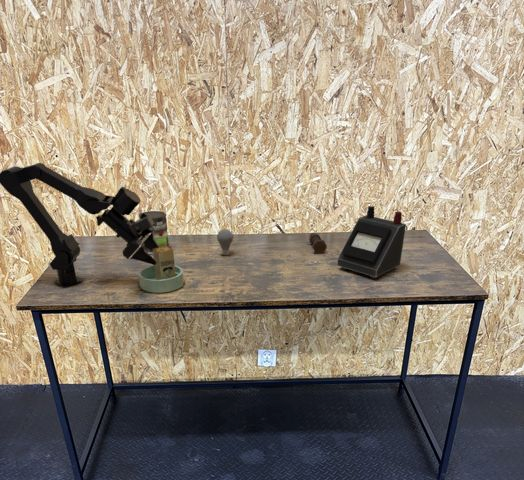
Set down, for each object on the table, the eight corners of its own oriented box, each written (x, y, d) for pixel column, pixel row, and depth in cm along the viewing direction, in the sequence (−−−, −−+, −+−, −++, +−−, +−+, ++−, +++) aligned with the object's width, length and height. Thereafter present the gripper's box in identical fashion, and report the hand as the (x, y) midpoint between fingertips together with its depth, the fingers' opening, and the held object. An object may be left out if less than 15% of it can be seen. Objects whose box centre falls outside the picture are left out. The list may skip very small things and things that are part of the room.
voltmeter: (336, 269, 178) (340, 213, 168) (361, 257, 188) (367, 204, 178) (374, 281, 168) (382, 223, 158) (399, 268, 179) (407, 213, 168)
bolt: (314, 245, 206) (321, 256, 193) (304, 239, 204) (310, 250, 191) (322, 233, 203) (329, 243, 190) (312, 227, 202) (318, 237, 189)
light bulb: (225, 251, 194) (224, 226, 189) (236, 254, 191) (236, 229, 186) (214, 255, 190) (213, 229, 185) (226, 258, 187) (225, 232, 182)
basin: (131, 285, 166) (129, 272, 163) (166, 273, 175) (164, 261, 172) (157, 297, 157) (156, 284, 155) (192, 284, 166) (191, 271, 164)
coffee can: (174, 250, 195) (171, 214, 188) (151, 256, 189) (147, 219, 182) (160, 244, 202) (157, 209, 194) (138, 249, 196) (133, 214, 188)
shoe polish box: (176, 284, 165) (173, 250, 159) (162, 288, 163) (158, 253, 156) (170, 280, 168) (166, 245, 162) (156, 283, 166) (152, 248, 160)
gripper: (127, 215, 145) (168, 252, 150) (143, 199, 161) (180, 233, 166) (105, 241, 149) (146, 276, 154) (123, 223, 165) (159, 255, 170)
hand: (159, 258), depth 161 cm, fingers open, 9 cm apart
